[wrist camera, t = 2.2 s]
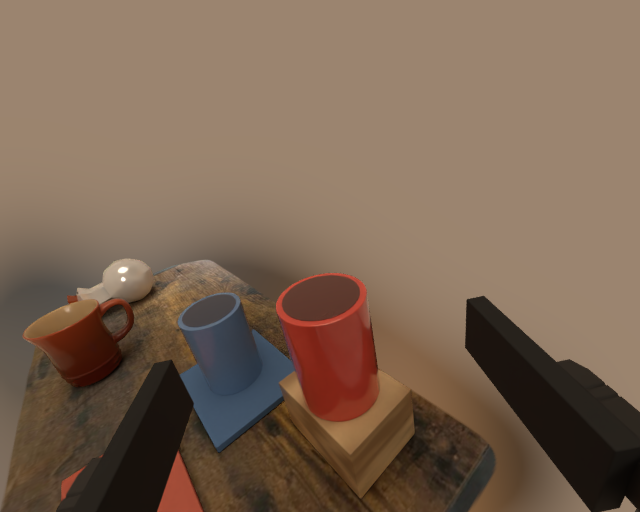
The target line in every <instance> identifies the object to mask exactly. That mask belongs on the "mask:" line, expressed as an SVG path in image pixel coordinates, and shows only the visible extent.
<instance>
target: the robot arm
mask: <svg viewBox="0 0 640 512" xmlns="http://www.w3.org/2000/svg"><path fill="white" fill-rule="evenodd" d="M465 348H466V349H467V350H468V352H469V353H470V354H471V356H472V357H473V358H474V360H475V361H476V362H477V363H478V365H479V366H480V367H481V369H482V370H483V371H484V372H485V374H486V375H487V377H488V378H489V379H490V380H491V382H492V383H493V384H494V386H495V387H496V388H497V390H498V391H499V392H500V393H501V395H502V396H503V397H504V399H505V400H506V401H507V403H508V404H509V405H510V407H511V408H512V409H513V410H514V412H515V413H516V414H517V416H518V417H519V418H520V420H521V421H522V422H523V424H524V425H525V426H526V427H527V429H528V430H529V431H530V433H531V434H532V435H533V437H534V438H535V439H536V440H537V442H538V443H539V444H540V446H541V447H542V448H543V450H544V451H545V452H546V453H547V455H548V456H549V457H550V459H551V460H552V461H553V463H554V464H555V465H556V467H557V468H558V469H559V471H560V472H561V473H562V474H563V476H564V477H565V478H566V480H567V481H568V482H569V484H570V485H571V486H572V487H573V489H574V490H575V491H576V493H577V494H578V495H579V497H580V498H581V499H582V501H583V502H584V503H585V504H586V506H587V507H588V508H589V510H590V511H591V512H602V511H606V510H611V509H616V508H619V507H620V505H621V503H622V501H623V499H624V496H626V497H627V498H628V499H629V500H630V501H631V503H632V504H633V505H634V506H635V507H636V508H637V509H636V511H635V512H640V412H639V411H638V410H637V409H635V408H634V407H633V406H632V405H631V404H629V403H628V402H627V401H626V400H625V399H623V398H622V397H619V396H618V394H617V393H616V392H615V391H614V390H613V389H612V388H610V387H609V386H608V385H607V386H606V385H605V383H604V382H603V381H602V380H601V379H600V378H598V377H597V376H596V375H595V374H593V373H592V372H591V371H590V370H589V369H587V368H585V367H583V366H581V365H579V364H577V363H575V362H574V361H572V360H570V359H569V360H565V361H560V362H556V361H555V360H554V359H553V358H551V357H550V356H549V355H548V354H547V353H546V352H545V351H544V350H543V349H542V348H540V347H539V346H538V345H537V344H536V343H535V342H534V341H533V340H532V339H530V338H529V337H528V336H527V335H526V334H525V333H524V332H523V331H522V330H521V329H520V328H519V327H517V326H516V325H515V324H514V323H513V322H512V321H511V320H510V319H509V318H508V317H506V316H505V315H504V314H503V313H502V312H501V311H500V310H499V309H497V307H495V306H494V305H493V304H492V303H491V302H490V301H489V300H488V299H487V298H485V296H481V297H476V298H471V299H467V307H466V339H465ZM193 405H194V402H193V400H192V398H191V396H190V394H189V392H188V390H187V388H186V386H185V385H184V383H183V381H182V379H181V377H180V375H179V373H178V371H177V369H176V367H175V365H174V363H173V361H172V360H169V361H164V362H159V363H154V365H153V367H152V369H151V370H150V372H149V374H148V376H147V377H146V379H145V381H144V383H143V385H142V386H141V388H140V390H139V392H138V393H137V395H136V397H135V399H134V401H133V402H132V404H131V406H130V408H129V410H128V411H127V413H126V415H125V417H124V418H123V420H122V422H121V424H120V426H119V427H118V429H117V431H116V433H115V435H114V436H113V438H112V440H111V442H110V443H109V445H108V447H107V449H106V451H105V452H104V454H103V456H102V457H98V458H93V459H92V460H91V461H90V462H89V463H88V464H87V465H86V467H85V468H84V469H83V470H82V471H81V472H80V473H79V474H78V475H77V477H76V478H75V480H74V482H73V483H72V485H71V487H70V488H69V490H68V492H67V493H66V497H65V498H64V499H63V500H62V502H61V503H60V505H59V507H58V508H57V510H56V512H157V511H158V508H159V505H160V502H161V499H162V496H163V493H164V490H165V487H166V484H167V481H168V478H169V476H170V473H171V470H172V467H173V464H174V461H175V458H176V455H177V452H178V449H179V446H180V443H181V440H182V437H183V435H184V432H185V429H186V426H187V423H188V420H189V417H190V414H191V411H192V408H193Z"/></svg>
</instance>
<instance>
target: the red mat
mask: <svg viewBox="0 0 640 512" xmlns="http://www.w3.org/2000/svg"><path fill="white" fill-rule="evenodd" d="M102 456H103V455H102ZM102 456H100V457H102ZM85 467H86V466H85ZM85 467H84V468H85ZM84 468H82V469H81V470H79V471H78V472H76V473H75V474H73V475H72V476H70V477H69V478H67V479H66V480H64V481H63V482H62V500H63V499H64V498H65V497H66V493H67V492H68V490H69V488H70V487H71V485H72V483H73V482H74V480H75V478H76V477H77V475H78V474H79V473H80V472H81V471H82V470H83V469H84ZM157 512H204V510H203V508H202V506H201V503H200V501H199V498H198V496H197V493H196V491H195V488H194V486H193V483H192V481H191V479H190V476H189V474H188V471H187V469H186V466H185V464H184V461H183V459H182V456H181V454H180V452H179V449H178V452H177V455H176V458H175V461H174V464H173V467H172V470H171V473H170V476H169V478H168V481H167V484H166V487H165V490H164V493H163V496H162V499H161V502H160V505H159V508H158V511H157Z"/></svg>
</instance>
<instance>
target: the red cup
mask: <svg viewBox="0 0 640 512" xmlns="http://www.w3.org/2000/svg"><path fill="white" fill-rule="evenodd" d="M276 311H277V315H278V318H279V321H280V325H281V328H282V331H283V334H284V338H285V341H286V344H287V348H288V351H289V354H290V357H291V361H292V364H293V367H294V370H295V374H296V377H297V380H298V383H299V387H300V390H301V393H302V397H303V400H304V402H305V405H306V406H307V408H308V409H309V410H310V411H311V412H312V413H313V414H314V415H316V416H317V417H319V418H321V419H324V420H327V421H333V422H342V421H348V420H352V419H355V418H357V417H359V416H361V415H363V414H364V413H365V412H367V411H368V410H369V409H370V408H371V407H372V406H373V404H374V403H375V401H376V400H377V397H378V395H379V391H380V380H379V373H378V367H377V359H376V352H375V346H374V339H373V331H372V324H371V318H370V311H369V304H368V298H367V291H366V288H365V285H364V284H363V283H362V282H361V281H360V280H359V279H357V278H355V277H353V276H350V275H346V274H340V273H327V274H319V275H315V276H311V277H308V278H305V279H302V280H300V281H298V282H296V283H295V284H293V285H291V286H290V287H288V288H287V289H286V290H285V291H284V292H283V293H282V294H281V295H280V297H279V298H278V300H277V304H276Z"/></svg>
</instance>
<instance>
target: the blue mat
mask: <svg viewBox="0 0 640 512" xmlns="http://www.w3.org/2000/svg"><path fill="white" fill-rule="evenodd" d="M252 334H253V336H254V339H255V342H256V345H257V348H258V350H259V353H260V356H261V359H262V362H263V366H262V370H261V373H260V375H259V376H258V378H257V379H256V380H255V381H254V382H253V383H252V384H251V385H250V386H248V387H247V388H245V389H244V390H242V391H240V392H238V393H235V394H231V395H218V394H215V393H213V392H212V391H211V390H210V389H209V387H208V385H207V383H206V381H205V379H204V377H203V375H202V373H201V371H200V369H199V366H198V364H197V365H195V366H193V367H192V368H190V369H189V370H187V371H185V372H184V373H182V374H180V377H181V379H182V381H183V383H184V385H185V386H186V388H187V390H188V392H189V394H190V396H191V398H192V400H193V402H194V405H193V407H194V409H195V411H196V412H197V414H198V416H199V418H200V420H201V422H202V424H203V425H204V427H205V429H206V431H207V433H208V435H209V436H210V438H211V440H212V442H213V444H214V446H215V447H216V449H217V451H218V453H219V452H221V451H222V450H223V449H224V448H225V447H227V446H228V445H229V444H230V443H232V442H233V441H234V440H235V439H237V438H238V437H239V436H240V435H242V434H243V433H244V432H245V431H247V430H248V429H249V428H250V427H252V426H253V425H254V424H255V423H256V422H258V421H259V420H260V419H261V418H263V417H264V416H265V415H266V414H268V413H269V412H270V411H271V410H273V409H274V408H275V407H276V406H278V405H279V404H280V403H281V402H283V401H284V397H283V395H282V392H281V389H280V386H279V382H280V381H282V380H283V379H284V378H286V377H287V376H288V375H290V374H291V373H292V372H294V371H295V370H294V367H293V364H292V361H291V360H289V359H288V358H287V357H286V356H285V355H284V354H282V353H281V352H280V351H279V350H278V349H276V348H275V347H274V346H273V345H272V344H271V343H269V342H268V341H267V340H266V339H265V338H264V337H262V336H261V335H260V334H259V333H258V332H256V331H255V330H252Z"/></svg>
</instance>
